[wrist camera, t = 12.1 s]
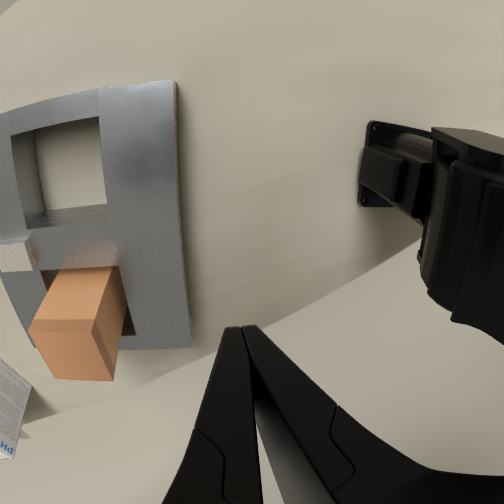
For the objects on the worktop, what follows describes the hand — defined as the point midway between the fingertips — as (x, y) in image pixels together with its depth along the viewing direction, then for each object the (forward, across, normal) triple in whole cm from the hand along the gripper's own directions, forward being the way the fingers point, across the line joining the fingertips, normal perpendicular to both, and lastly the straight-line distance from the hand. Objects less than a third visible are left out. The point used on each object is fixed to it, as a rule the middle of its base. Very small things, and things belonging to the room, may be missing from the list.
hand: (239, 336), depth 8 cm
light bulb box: (+13, +29, +21) cm, 38 cm away
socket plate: (+13, +9, +2) cm, 16 cm away
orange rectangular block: (+13, +9, +6) cm, 17 cm away
